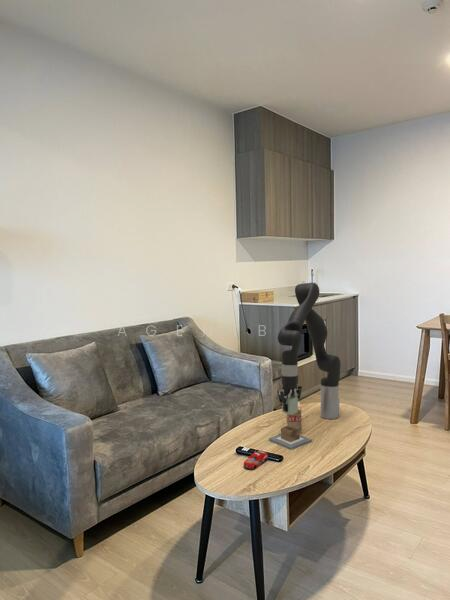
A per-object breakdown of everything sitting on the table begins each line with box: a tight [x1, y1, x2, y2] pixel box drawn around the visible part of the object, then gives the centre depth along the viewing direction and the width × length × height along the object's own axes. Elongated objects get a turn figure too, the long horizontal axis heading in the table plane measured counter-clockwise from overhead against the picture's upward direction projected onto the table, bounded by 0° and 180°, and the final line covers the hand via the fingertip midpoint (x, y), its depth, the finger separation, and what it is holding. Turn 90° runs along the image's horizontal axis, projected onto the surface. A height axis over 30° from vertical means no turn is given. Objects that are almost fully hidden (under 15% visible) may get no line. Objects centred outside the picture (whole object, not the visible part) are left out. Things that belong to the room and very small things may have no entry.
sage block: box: [281, 395, 299, 415], centre depth 200 cm, size 5×5×7 cm
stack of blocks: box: [286, 400, 302, 434], centre depth 221 cm, size 21×6×12 cm, turn 175°
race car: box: [243, 451, 269, 470], centre depth 178 cm, size 13×5×4 cm, turn 141°
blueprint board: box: [268, 424, 313, 451], centre depth 201 cm, size 14×14×6 cm
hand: (289, 410), depth 200 cm, fingers closed on sage block, 5 cm apart
